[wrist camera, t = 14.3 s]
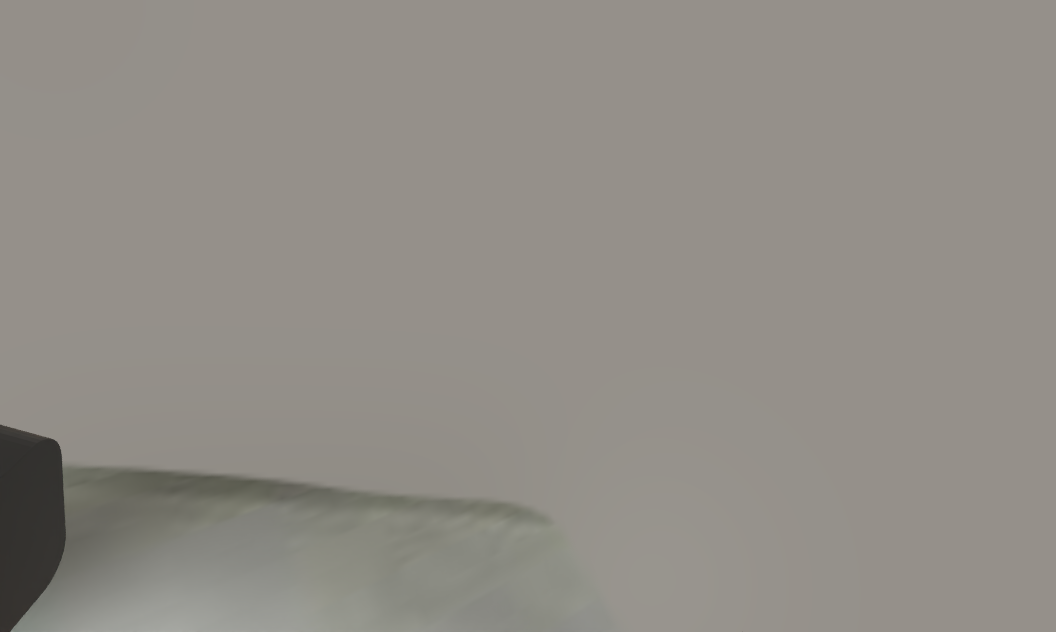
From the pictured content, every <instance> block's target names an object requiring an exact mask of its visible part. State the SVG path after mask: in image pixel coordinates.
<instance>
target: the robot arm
mask: <svg viewBox="0 0 1056 632" xmlns="http://www.w3.org/2000/svg"><path fill="white" fill-rule="evenodd" d="M65 539H66V532H65V513H64V493H63V474H62V455H61V449H60V446H59V444H58V443H57V442H56V441H55V440H53V439H50V438H46V437H42V436H39V435H36V434H32V433H29V432H25V431H21V430H17V429H14V428H10V427H7V426H3V425H0V632H10V631H11V630H12V629H13V627H14V626H15V625H16V624H17V623H18V621H19V620H20V619H21V618H22V617H23V615H24V614H25V613H26V612H27V611H28V609H29V608H30V607H31V606H32V605H33V603H34V602H35V601H36V600H37V599H38V598H39V596H40V595H41V594H42V593H43V591H44V590H45V589H46V588H47V586H48V585H49V583H50V582H51V580H52V578H53V576H54V574H55V572H56V570H57V568H58V566H59V563H60V561H61V558H62V554H63V551H64V546H65Z"/></svg>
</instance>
